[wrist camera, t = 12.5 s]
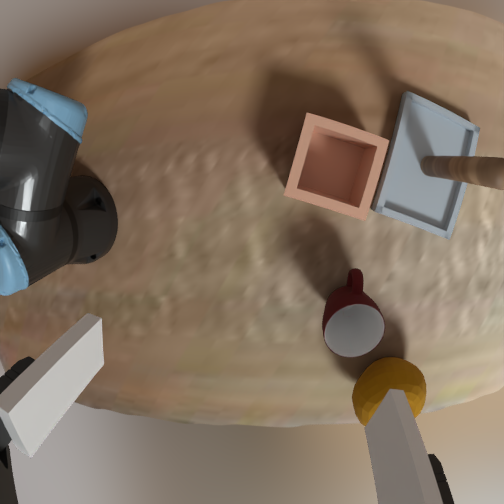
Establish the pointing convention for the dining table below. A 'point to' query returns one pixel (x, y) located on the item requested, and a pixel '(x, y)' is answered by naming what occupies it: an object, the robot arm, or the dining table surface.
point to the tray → (409, 170)
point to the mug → (352, 319)
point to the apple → (388, 386)
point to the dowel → (466, 169)
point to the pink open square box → (336, 166)
